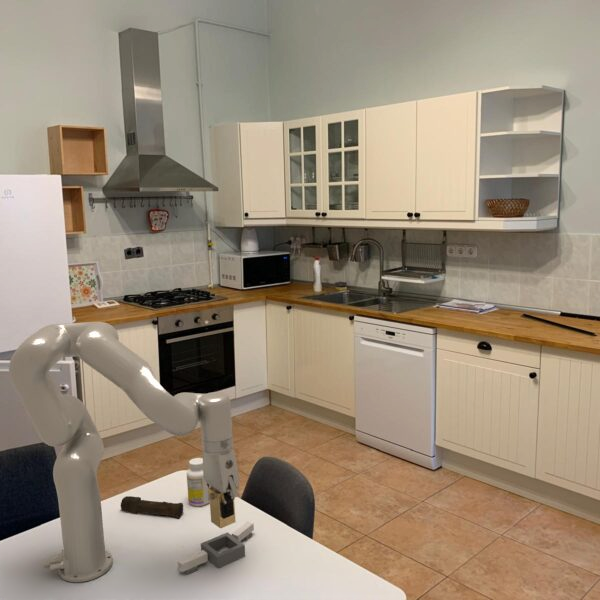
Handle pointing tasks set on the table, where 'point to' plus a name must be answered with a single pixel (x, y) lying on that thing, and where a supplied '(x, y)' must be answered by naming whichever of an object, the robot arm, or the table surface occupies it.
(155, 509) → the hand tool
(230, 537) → the socket
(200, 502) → the supplement bottle
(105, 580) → the table surface
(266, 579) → the table surface
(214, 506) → the tan wooden block
